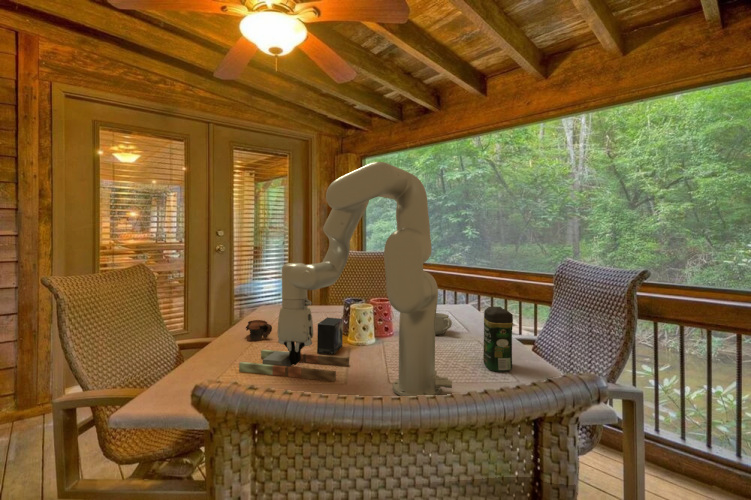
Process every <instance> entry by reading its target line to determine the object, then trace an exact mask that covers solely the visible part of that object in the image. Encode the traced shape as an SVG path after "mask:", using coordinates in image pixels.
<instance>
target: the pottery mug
mask: <svg viewBox="0 0 751 500" xmlns="http://www.w3.org/2000/svg"><path fill="white" fill-rule="evenodd" d="M245 330H246V331H249V334H247V335H245V336H246V337H245V338H246V341H247V342H248V341H249V342H251V341H258V342H261V341H262V338H264V339H266V338H268V336H269V335H270V334H271V332H272V330H273V327H272V325H271V324H270V323H268V321H266V320H262V319H253V320H249V321H248V322H247V325H246V327H245Z"/></svg>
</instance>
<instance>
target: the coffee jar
mask: <svg viewBox="0 0 751 500" xmlns="http://www.w3.org/2000/svg"><path fill="white" fill-rule="evenodd" d="M483 313H484V314H483V356H482V357H483V359H482V360H483V364H484V365H485V367H486V368H487V369H488V370H489V371H493V372H494V371H495V372H497V373H505V372H509V371H511V370H512V369H513V325H514V323H513V322H514V317H513V314H512V312H510V311H509V310H507V309H505V308H502V306H488V307H487V308H486V309H484V312H483Z"/></svg>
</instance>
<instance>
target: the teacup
mask: <svg viewBox="0 0 751 500" xmlns="http://www.w3.org/2000/svg"><path fill="white" fill-rule="evenodd" d="M449 317H450V316H449V314H445V313H440V312H436V332H435V336H436V335H437V336H440V335H443V334H445V333H446V332H447V330H448V329H450V328H451V327H452V323H453V322H452V319H451V318H449Z"/></svg>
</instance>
